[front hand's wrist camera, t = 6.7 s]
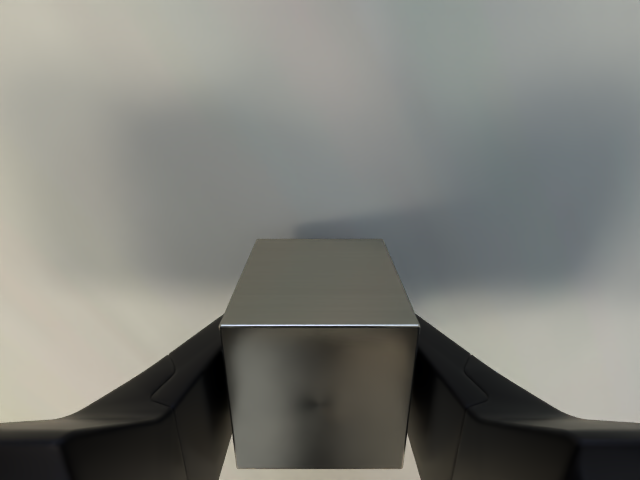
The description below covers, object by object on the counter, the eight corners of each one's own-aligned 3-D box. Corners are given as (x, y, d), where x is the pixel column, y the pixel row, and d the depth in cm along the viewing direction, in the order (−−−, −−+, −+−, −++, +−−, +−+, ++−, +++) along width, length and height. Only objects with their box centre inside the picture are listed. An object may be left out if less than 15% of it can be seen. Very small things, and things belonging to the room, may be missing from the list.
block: (375, 345, 13) (403, 470, 9) (264, 345, 13) (235, 470, 9) (383, 238, 12) (421, 325, 7) (256, 238, 12) (217, 325, 7)
